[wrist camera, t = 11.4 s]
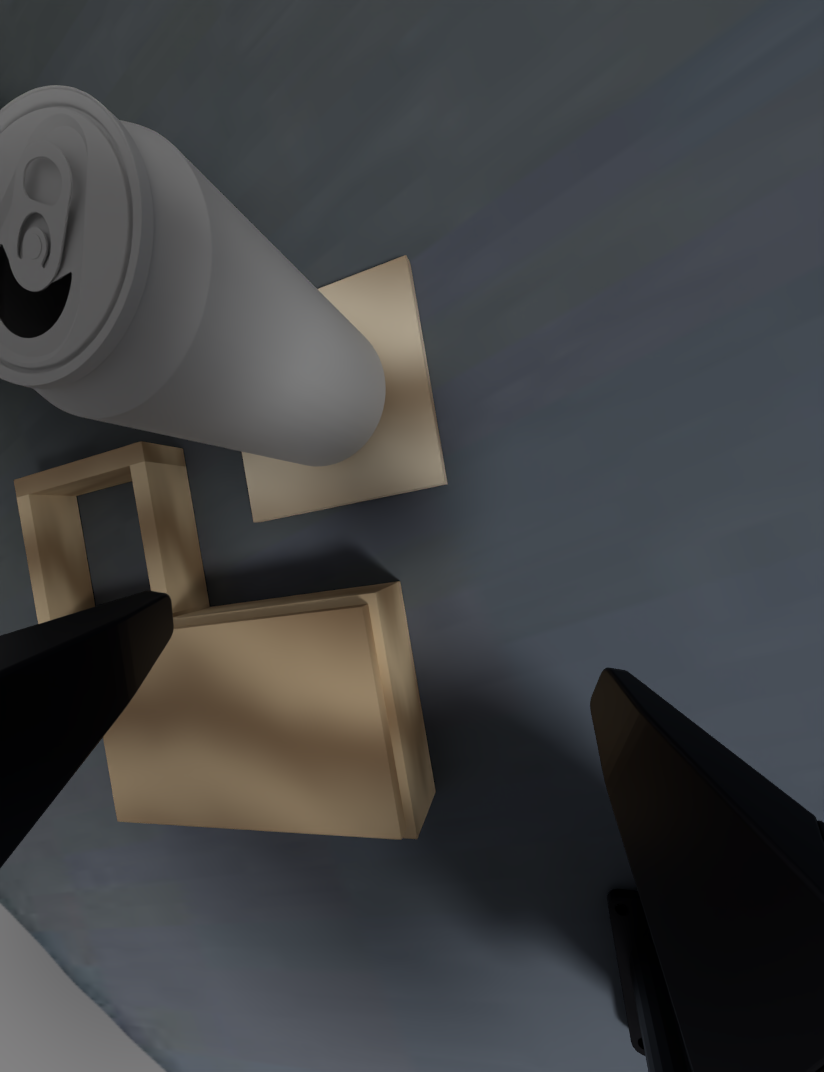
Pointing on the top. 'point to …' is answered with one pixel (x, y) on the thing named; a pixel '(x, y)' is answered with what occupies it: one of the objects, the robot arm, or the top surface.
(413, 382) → the cork mat
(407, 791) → the wooden notched board
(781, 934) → the robot arm
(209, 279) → the beverage can
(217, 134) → the top surface
